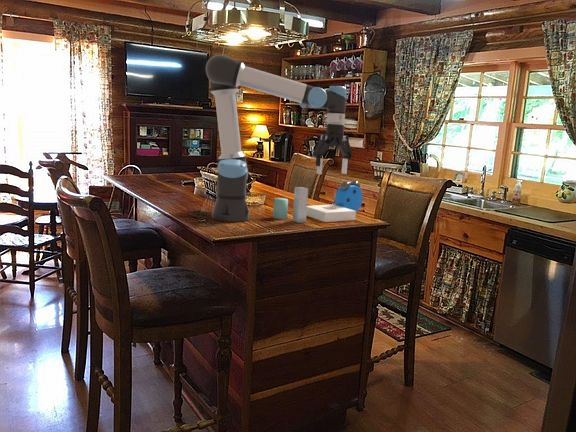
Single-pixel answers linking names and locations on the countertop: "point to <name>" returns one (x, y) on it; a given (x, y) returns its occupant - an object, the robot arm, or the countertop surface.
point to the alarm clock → (349, 195)
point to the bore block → (330, 213)
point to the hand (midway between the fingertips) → (331, 173)
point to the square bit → (300, 204)
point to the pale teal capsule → (280, 208)
